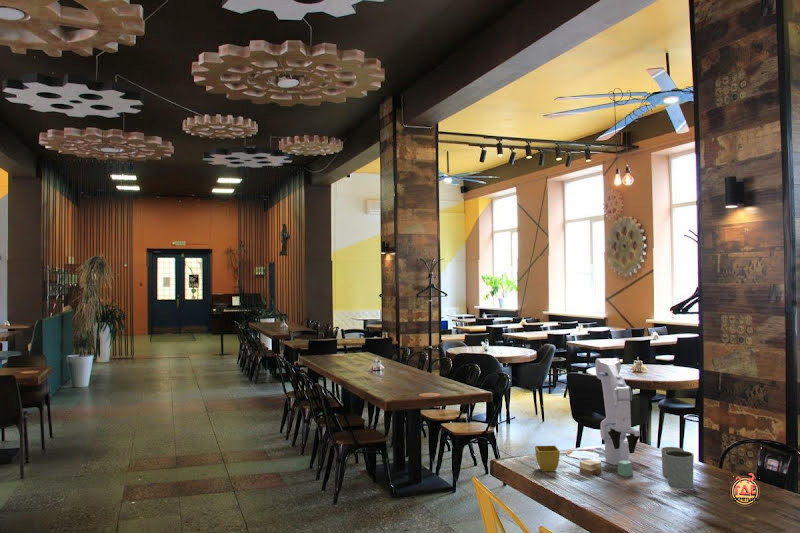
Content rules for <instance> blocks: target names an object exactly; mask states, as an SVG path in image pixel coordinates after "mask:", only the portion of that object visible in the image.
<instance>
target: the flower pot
mask: <svg viewBox="0 0 800 533" xmlns="http://www.w3.org/2000/svg"><path fill="white" fill-rule="evenodd" d="M534 449H535V458H536V463H537V464H538V466H539V468H540V470H541V471H542V472H556V470H557V469H558V465H559V462H560V453H561V452H560V449H559V448H558V447H557V446H556V445H535V446H534Z"/></svg>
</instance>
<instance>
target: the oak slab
mask: <svg viewBox="0 0 800 533" xmlns="http://www.w3.org/2000/svg"><path fill="white" fill-rule="evenodd" d="M580 468H583V469H586V470H590V471H592V470H596V469H601V470H602V461H597V460H593V459H586V460H581V461H579V469H580Z"/></svg>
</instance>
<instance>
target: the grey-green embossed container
mask: <svg viewBox="0 0 800 533" xmlns="http://www.w3.org/2000/svg"><path fill="white" fill-rule="evenodd" d="M694 455H695V454H694V453H693V452H690V451H687V450H684V451H681V450H671V451H666V452H665V460H666V467H667V474H668V477H667V482H668V485H669V486H670V487H671V488H675V489H679V490H687V489H692V488H694V461H695V460H694V459H695V456H694Z"/></svg>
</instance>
